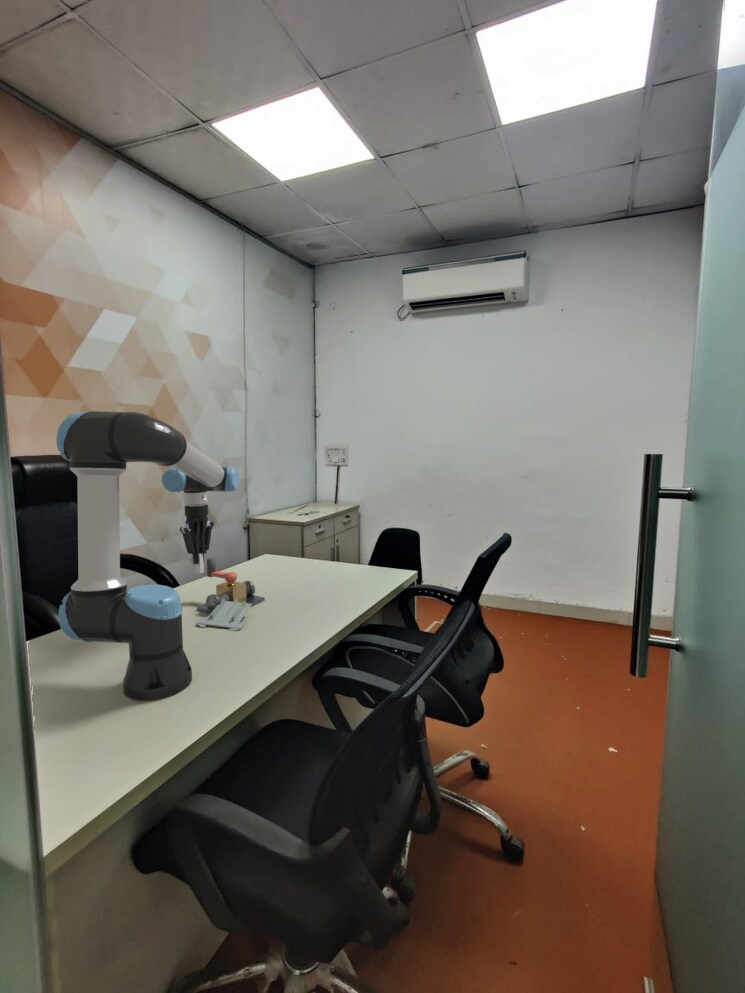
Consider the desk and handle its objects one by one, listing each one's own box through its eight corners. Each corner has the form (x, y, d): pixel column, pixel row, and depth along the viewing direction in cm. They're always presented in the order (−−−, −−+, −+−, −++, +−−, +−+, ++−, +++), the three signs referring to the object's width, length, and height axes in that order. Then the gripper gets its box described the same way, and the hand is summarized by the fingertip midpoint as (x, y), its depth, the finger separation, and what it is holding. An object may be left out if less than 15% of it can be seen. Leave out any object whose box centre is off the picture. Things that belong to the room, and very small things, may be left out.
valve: (228, 617, 157) (227, 591, 156) (197, 610, 163) (196, 584, 162) (264, 600, 173) (263, 576, 172) (234, 594, 179) (234, 570, 178)
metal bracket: (216, 593, 161) (258, 598, 158) (219, 608, 163) (260, 612, 160) (193, 621, 148) (238, 626, 145) (196, 636, 151) (240, 642, 148)
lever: (239, 578, 168) (238, 561, 167) (231, 581, 164) (230, 564, 163) (212, 573, 173) (212, 557, 172) (204, 576, 170) (203, 560, 169)
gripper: (189, 508, 155) (192, 579, 158) (218, 502, 166) (221, 568, 170) (172, 506, 158) (176, 575, 162) (202, 501, 170) (205, 566, 173)
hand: (199, 572), depth 166 cm, fingers closed
